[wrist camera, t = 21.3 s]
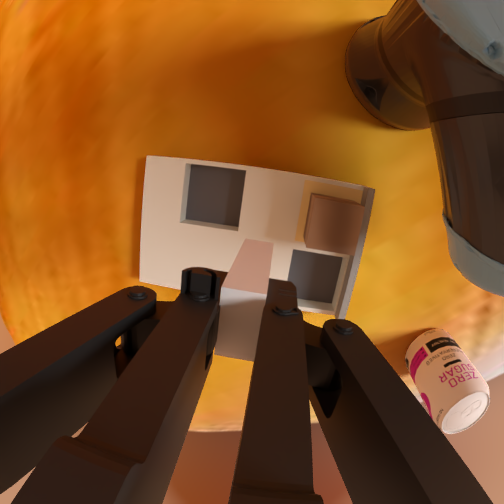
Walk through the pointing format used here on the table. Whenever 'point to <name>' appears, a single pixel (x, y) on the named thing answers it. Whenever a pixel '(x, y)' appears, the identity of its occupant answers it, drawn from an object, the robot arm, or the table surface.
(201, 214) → the box
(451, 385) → the soda can
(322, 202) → the block
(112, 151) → the table surface
